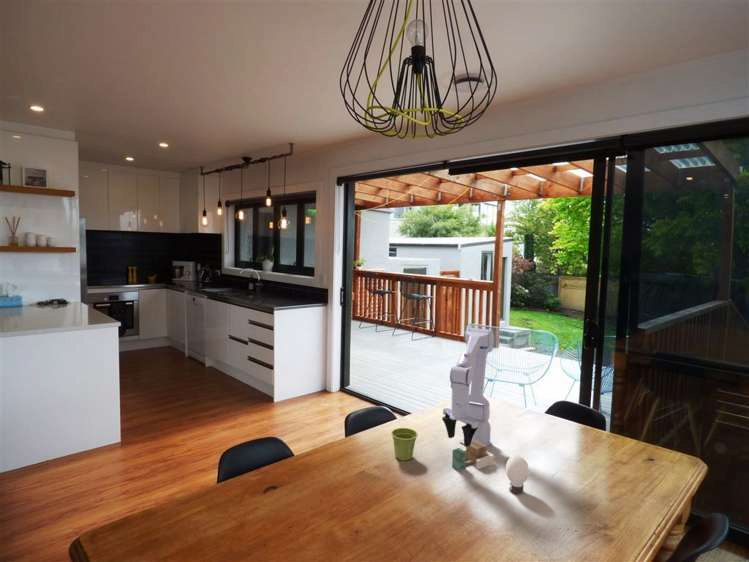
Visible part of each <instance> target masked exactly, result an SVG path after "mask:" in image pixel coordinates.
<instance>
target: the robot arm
mask: <svg viewBox="0 0 749 562" xmlns="http://www.w3.org/2000/svg"><path fill="white" fill-rule="evenodd" d="M464 333H465V335H464V340H465V343H466V347H465V351H463V352H461V354H460V355H459V358H458V361H456V364H455V366H452V367H451V369H450V374H449V382H450V389H451V408H449V407H445V408H443V409H442V415H444V416H442V418H441V419H442V421H443V423H444V425H445V428H446V431H447V436H448V437H447V438H448V439H452V438H455V435H456V425H457V421H459V422H461V423H463V424H464V425H462V426H461V429H462V433H463V439H462V440H459V443H461V444H462V445H463V446H464V447H465V448H466V447H467V446H470V444H471V442H473V441H476V440H477V441H479V442H481V443H483V444H485V445H487V447H488V446H490V445H492V444H493V443H492V442H491V431H492V429H491V424H490V422H489V419H490V415H491V414H490V412H491V411H490V410H491V409H490V406H491V405H490V401H489V400H488V399H487V398H486V397H485V396H484V385H485V377H486V368H487V367H486V366H487V357H488V354H489V353H491V352H493V349H494V340H495V334H494V330H493V329H486V328H485V329H484V328H475V327H474V328H473V327H467V328H466V330H465V332H464Z"/></svg>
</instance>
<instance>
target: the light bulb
mask: <svg viewBox="0 0 749 562" xmlns="http://www.w3.org/2000/svg"><path fill="white" fill-rule="evenodd" d="M529 468H530V467H529V464H528V462H527V461H526V459H525V458H524V457H522V456H521V455H519V454H518V455H517V454H515V455H512V456H510V457H509V458H508V460H507V462H506V464H505V472H506V473H505V474H506V476H507V478H508V480H509V481H510V483H509V492H510V493H512V494H517V495H521V494H523V493H524V486H525V484H524V483H525V482H526V481H527V480H528V478H529V474H530V471H529V470H530V469H529Z"/></svg>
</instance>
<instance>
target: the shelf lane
mask: <svg viewBox="0 0 749 562" xmlns="http://www.w3.org/2000/svg"><path fill="white" fill-rule="evenodd" d="M461 449H462V448H461ZM462 450H464V451H465V459H466V447H465V448H463V449H462ZM493 464H495V454H493V453H491V452H489V451H487V456H485V457H482V458H480V459H477V460H476V466H475V469H477V470H480V469H484V468H485V467H488V466H491V465H493Z"/></svg>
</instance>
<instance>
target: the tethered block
mask: <svg viewBox="0 0 749 562" xmlns="http://www.w3.org/2000/svg"><path fill="white" fill-rule="evenodd" d="M465 448H466V458H465V451H464V450H462V448H460V447H457V448H454V449H452V458H451V459H452V463H451V464H452V465H451V467H452V468H453V469H455V470H457V471H461V470H464V469H466V466H467V465H470V464H472V465H473V466H475V467H476V460H477V459H480V458H482V457H485V456H487V452H488V446H487V445H485V444H483V443H481V442H479V441H477V440H476V441H473V442H471V444H470V446H467V447H465Z"/></svg>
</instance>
